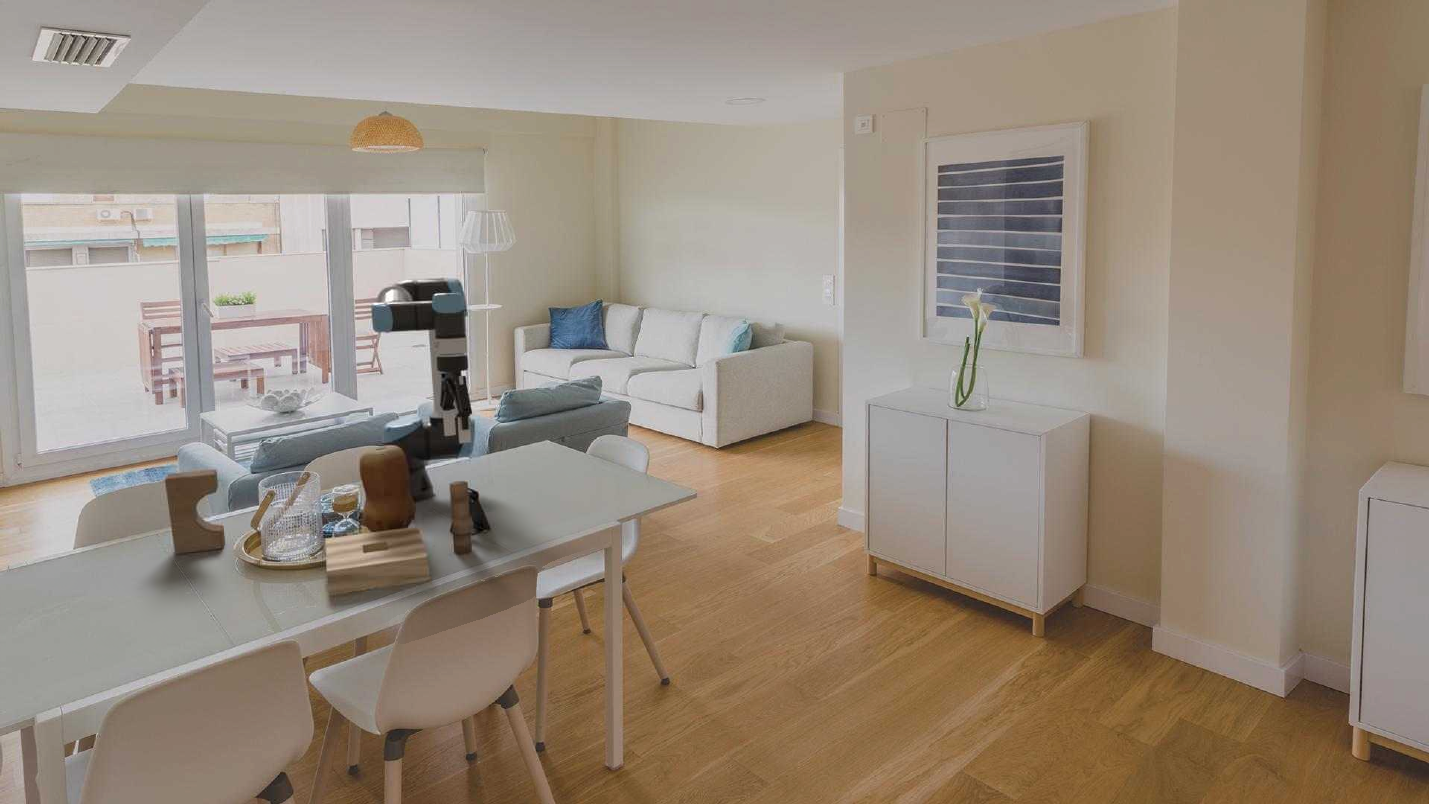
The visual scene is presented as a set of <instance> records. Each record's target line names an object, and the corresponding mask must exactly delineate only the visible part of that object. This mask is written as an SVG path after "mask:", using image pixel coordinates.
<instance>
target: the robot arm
mask: <svg viewBox="0 0 1429 804" xmlns="http://www.w3.org/2000/svg"><path fill="white" fill-rule="evenodd" d="M370 307H371V308H370V310H371V321H372V323H371V325H372V330H373V331H374V332H375V333H385V334H388V333H389V334H390V333H392V332H393V333H395V332H396V333H398V332H400V333H401V332H413V331H414V332H415V331H416V332H417V331H418V332H420V331H421V332H423V331H428V339H429V340H428V341H429V353H430V368H431V369H430V370H431V382H432V395H433V396H432V398H433V411H432V412H431V413H430V414H429V417H428V418H429V421H424V420H423V419H422V418H421V417H419V416H408V417H402V418H398V419H395V420H391V421H389V422H388V423H386V424H385V425H383V427H382V430H381V443H382V446H387V445H394V446H398V447H400V448H401V449H402V450H403V452H404V454H405V456H406V460H407V463H408V470H409V476H410V483H409V488H410V495H411V498H412V499H413V501H414V503H415V502H420V501H423V500H426V499H429V498H431V497H432V496H433V494H434V486H433V484H432V481H431V479H430V476H429V473H428V472H427V469H426V461H437V460H447V459H455V460H458V459H462V458H467V457H470V456H471V455H472V454H473V452H474V446H475V438H476V437H475V436H476V435H475V434H476V432H475V431H476V420H475V419H474V418H472V417H470V416H471V415H473V411H472V405H471V400H470V399H471V398H470V395H469V391H468V384H467V377H466V375H462V371H463V372H464V371H467V370H468V369H469V361H468V360H469V359H468V356H467V355H466V354H467V353H468V340H467V332H466V318H467V317H468V314H469V313H468V307H467V299H466V296H465V292H464V288H463V284H462V282H461V280H460V279H458V278H453V277H452V278H450V277H448V278H447V277H442V278H441V277H440V278H414V279H413V278H409V279H403V280H398V281H395V282H393V283H391V284H388V285H386V286H385V287H383V288H382V289H381V290H380V291H379V293H378V295H377V299H376V302H375V303H373V304H372V305H371V306H370Z"/></svg>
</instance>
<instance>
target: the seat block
mask: <svg viewBox="0 0 1429 804" xmlns="http://www.w3.org/2000/svg"><path fill="white" fill-rule="evenodd" d="M324 540H325V558H326V559H325V560H326V563H325V564H326V578H327V586H328V587H327V588H328V596H329V597H331V596H337V595H342V594H348V593H347V592H351V593H353V592H352V591H357V592H362V591H361V590H363V589H364V591H367V590H366V589H371V590H374V589H373V588H377V589H382V588H388V587H389V588H390V587H397V586H402V585H408V584H417V583H424V582H429V581H430V568H429V556H428V553H427V550H426V546H425V543H424V540H423V537H422V533H421V531H420V528H419V526H412V527H411V526H409V527H408V528H402V529H395V530H387V531H379V532H364V533H359V534H351V535H350V534H349V535H344V536H335V537H328V538H327V537H326V538H325V539H324Z"/></svg>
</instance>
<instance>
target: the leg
mask: <svg viewBox="0 0 1429 804" xmlns="http://www.w3.org/2000/svg"><path fill="white" fill-rule="evenodd" d="M468 488H469V483H468V482H467V481H465V480H458V481H457V480H456V481H452V482H449V495H450V511H451V524H452V529H453V533H452V539H453V542H452V543H453V544H452V545H453V553H454V554H456V555H464V554H466V553H467V554H469V553H471V552H472V549H473V548H472V547H473V546H472V535H471V529H470V525H471V516H470V512H469V496H468ZM467 554H466V555H467Z"/></svg>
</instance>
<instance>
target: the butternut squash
mask: <svg viewBox="0 0 1429 804" xmlns="http://www.w3.org/2000/svg"><path fill="white" fill-rule="evenodd" d="M358 469H359V474H360V475H359V476H360V480H361V483H362V486H363V489H364V494H365V501H364V505H363V510H362V521H363V523H364V526H365V527H366V529H368V531H370V533H372V532H379V531H387V530H395V529H402V528H409V527H410V526H411V523H412V521H413V520H415V518H416V512H417V511H416V510H417V509H416V505H415V502H414V501H413V499H412V498H411V495H410V488H409V483H410V476H409V470H408V463H407V460H406V456H405V454H404V452H403V450H402V449H401V448H400V447H398V446H394V445H387V446H383V445H382V446H378V447H374V448H371V449H369V450H367V451H365V452H363V453H362V454H361V455H360V458H359V467H358Z"/></svg>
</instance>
